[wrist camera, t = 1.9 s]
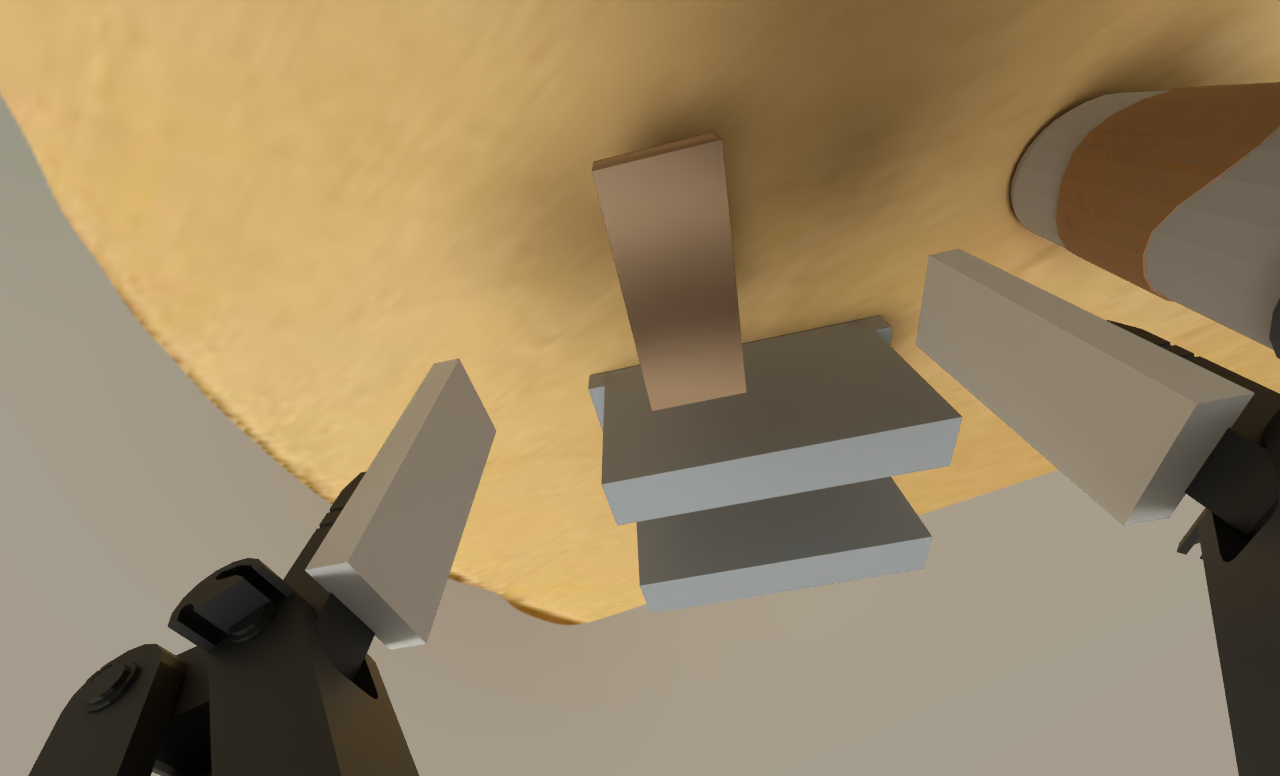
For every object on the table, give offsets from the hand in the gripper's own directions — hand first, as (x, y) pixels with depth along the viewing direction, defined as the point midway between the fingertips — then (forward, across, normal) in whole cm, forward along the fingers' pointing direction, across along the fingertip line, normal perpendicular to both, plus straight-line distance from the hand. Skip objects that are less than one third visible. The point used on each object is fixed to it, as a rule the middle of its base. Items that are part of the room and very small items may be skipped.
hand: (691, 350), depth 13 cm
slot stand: (+13, +3, -14) cm, 19 cm away
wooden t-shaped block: (+13, 0, 0) cm, 13 cm away
